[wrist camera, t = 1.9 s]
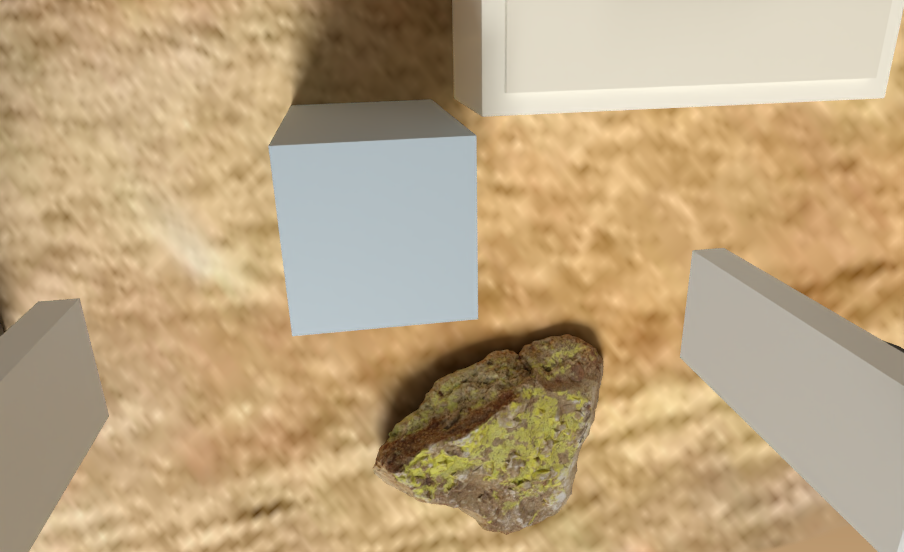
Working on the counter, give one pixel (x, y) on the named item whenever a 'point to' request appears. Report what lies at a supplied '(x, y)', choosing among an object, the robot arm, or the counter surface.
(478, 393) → the rock
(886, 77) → the plinth
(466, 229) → the block
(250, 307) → the counter surface
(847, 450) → the robot arm
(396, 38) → the counter surface
